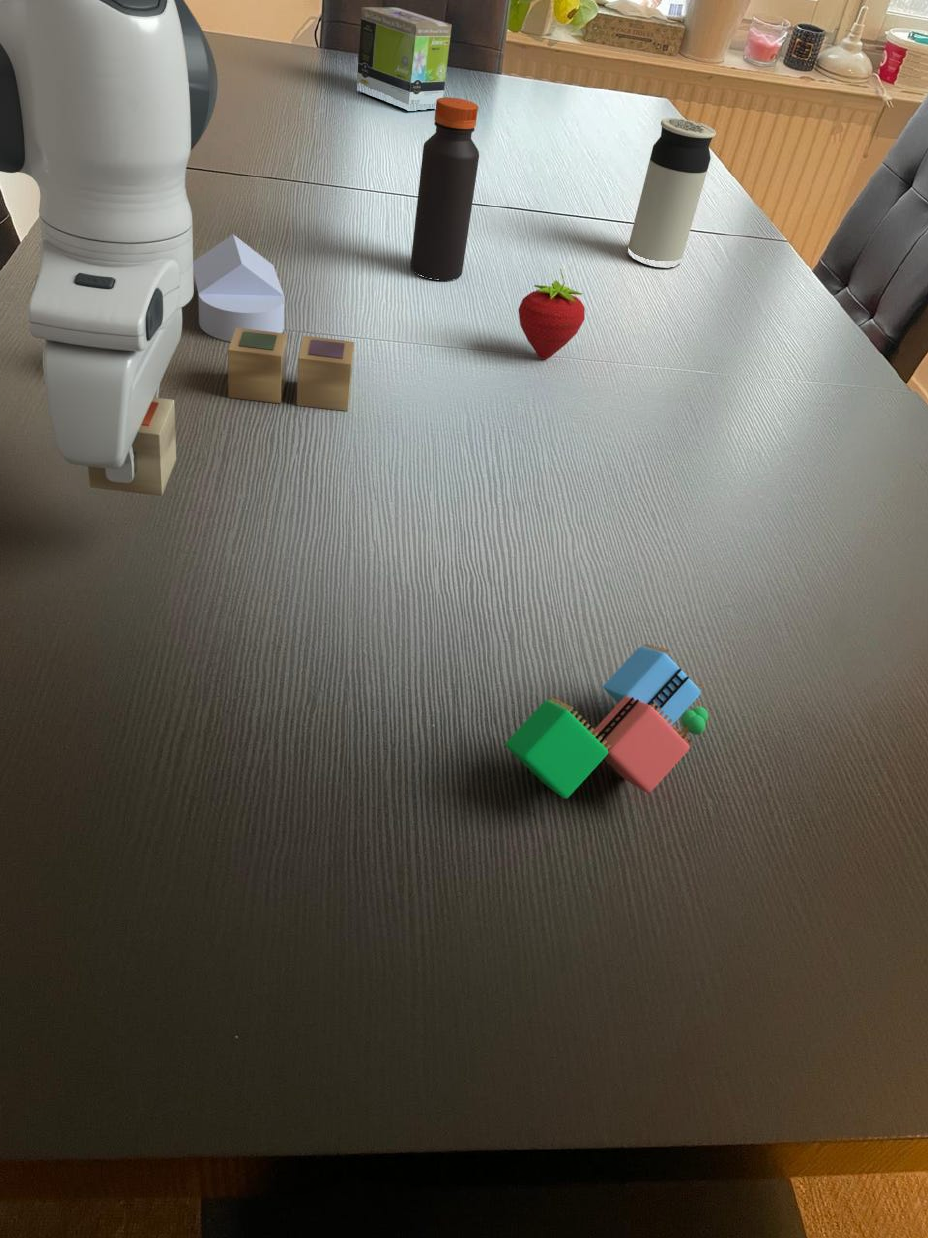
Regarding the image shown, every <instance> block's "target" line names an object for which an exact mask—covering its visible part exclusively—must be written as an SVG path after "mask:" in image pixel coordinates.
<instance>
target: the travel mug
mask: <svg viewBox="0 0 928 1238" xmlns="http://www.w3.org/2000/svg"><path fill="white" fill-rule="evenodd" d="M660 126H661V133H660V137H659V138H658V139H657V140H656V141H655V143H654V144H653V146H652V149H651V153H650V157H649V160H648V161H649V162H648V165H647V170H646V173H645V177H644V181H643V186H642V189H641V194H640V197H639V201H638V206H637V209H636V213H635V217H634V222H633V226H632V229H631V234H630V238H629V241H628V244H627V245H628V246H627V248H628V247H629V249H630V250H631V251H632V252H633V253H634V254H636V255H638V256H640V257H643V258H645V259H649V260H655V261H676V260H679V259H681V258H682V259H683V257H684V254H685V249H686V247H687V243H688V240H689V236H690V233H691V229H692V225H693V221H694V218H695V215H696V213H697V208H698V204H699V201H700V197H701V194H702V191H703V187H704V184H705V181H706V180H705V179H706V176H707V174H708V169H709V166H710V163H711V158H712V157H711V151H710V145H711V143H712V140H713V138H714V137H715V136H716V135H717V133H716V132H717V131H716V130H715V129H714V128H713V127H711V126H709V125H707V124H705V123H701V122H697V121H694V120H690V119H685V118H677V117H667V118H664V119H662V120H661V121H660Z"/></svg>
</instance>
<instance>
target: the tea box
mask: <svg viewBox="0 0 928 1238" xmlns="http://www.w3.org/2000/svg"><path fill="white" fill-rule="evenodd" d="M360 15H361V16H360V17H361V18H360V27H359V43H358V57H357V75H356V83H357V82H358V83H361V84H363V85H364V86H366V87H369V88H370V89H374V90H377V91H379V92H382V93H384V94H386V95H389V96H391V97H393V98H394V99H396V100H399V101H401V102H403V103H406V104H408V105H409V104H434V103H436V101H437V99H439V98H443V97H444V94H445V86H446V77H447V68H448V60H449V52H450V51H449V50H450V44H451V35H452V25H453V24H451V23H448V22H445V21H442V20H438V19H436V18H432V17H430V16H425V15H423V14H419V13H416V12H413V11H410V10H406V9H403V8H400V7H384V6H383V7H381V6H380V7H379V6H378V7H376V6H371V7H370V6H369V7H368V6H365V7H361V14H360Z"/></svg>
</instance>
